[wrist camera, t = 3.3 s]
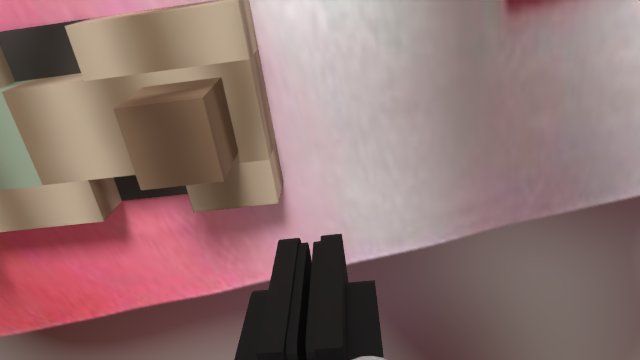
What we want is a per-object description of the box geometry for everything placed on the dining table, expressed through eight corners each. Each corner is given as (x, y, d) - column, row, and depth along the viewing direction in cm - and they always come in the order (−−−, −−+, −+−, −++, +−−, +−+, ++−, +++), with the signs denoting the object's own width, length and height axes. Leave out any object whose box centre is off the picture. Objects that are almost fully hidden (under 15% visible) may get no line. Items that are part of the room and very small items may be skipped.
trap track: (247, -5, 27) (225, 7, 22) (283, 181, 32) (272, 229, 27) (-116, 48, 29) (-220, 71, 24) (-28, 215, 34) (-96, 265, 29)
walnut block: (221, 77, 26) (202, 97, 22) (238, 151, 28) (223, 181, 24) (143, 87, 26) (113, 108, 23) (165, 159, 28) (141, 190, 25)
